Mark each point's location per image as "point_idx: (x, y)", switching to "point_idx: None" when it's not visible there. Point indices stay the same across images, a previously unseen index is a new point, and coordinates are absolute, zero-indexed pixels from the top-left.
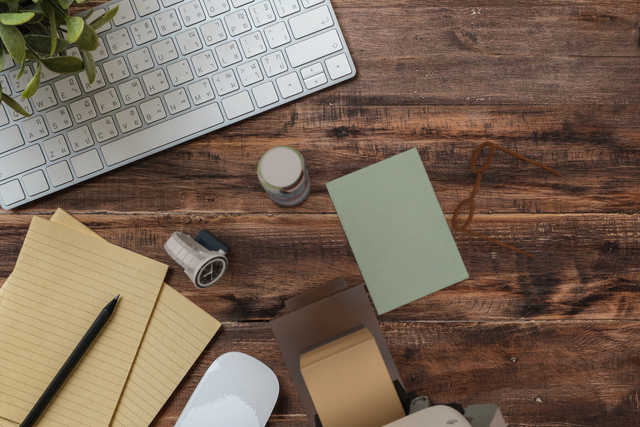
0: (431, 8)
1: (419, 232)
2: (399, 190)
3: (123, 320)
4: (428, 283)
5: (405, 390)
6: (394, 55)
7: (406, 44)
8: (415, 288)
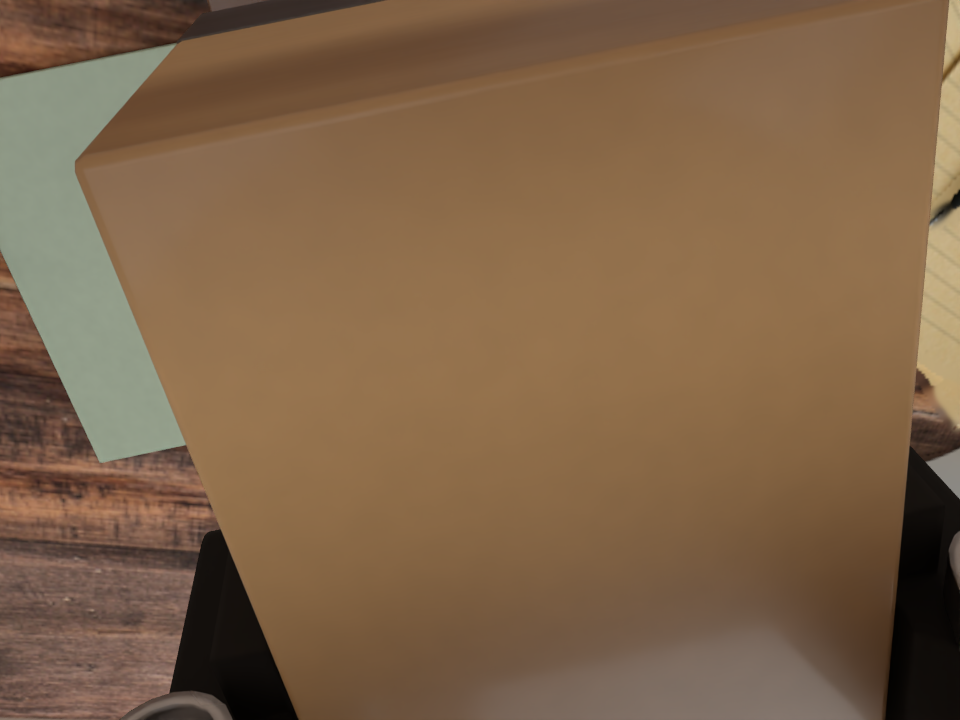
0: (51, 714)
1: (97, 255)
2: (152, 369)
3: (947, 159)
4: (72, 100)
5: (210, 5)
6: (146, 640)
7: (115, 657)
8: (117, 92)
